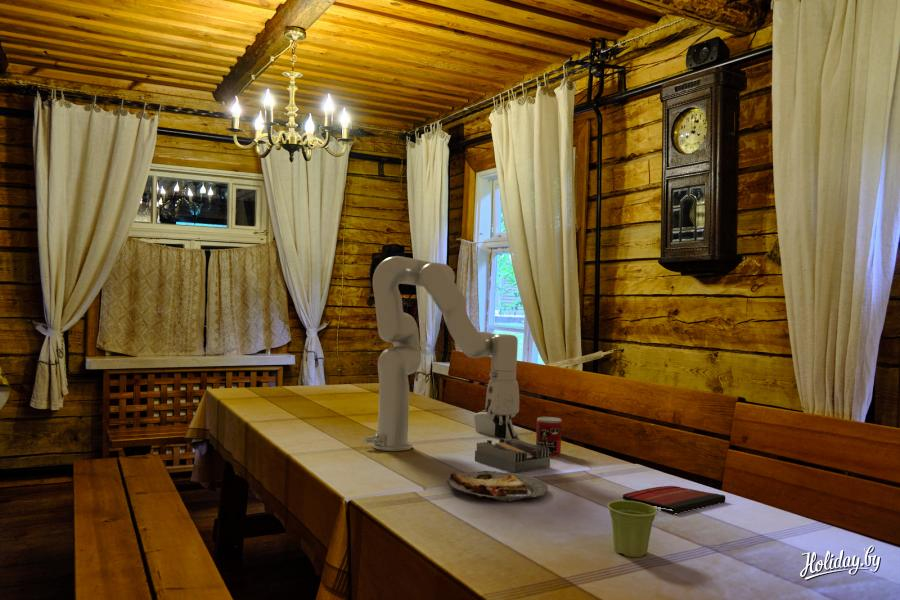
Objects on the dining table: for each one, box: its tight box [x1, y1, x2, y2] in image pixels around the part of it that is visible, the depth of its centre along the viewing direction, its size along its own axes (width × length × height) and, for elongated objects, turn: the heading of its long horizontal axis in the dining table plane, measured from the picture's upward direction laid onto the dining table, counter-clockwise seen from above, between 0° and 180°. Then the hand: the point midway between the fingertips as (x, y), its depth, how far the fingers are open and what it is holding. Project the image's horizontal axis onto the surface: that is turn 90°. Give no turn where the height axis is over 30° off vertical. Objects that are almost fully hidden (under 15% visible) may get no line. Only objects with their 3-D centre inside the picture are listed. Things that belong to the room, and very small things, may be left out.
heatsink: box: [474, 437, 551, 474], centre depth 205 cm, size 14×17×6 cm
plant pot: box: [607, 499, 659, 558], centre depth 136 cm, size 9×9×9 cm
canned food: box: [535, 416, 563, 457], centre depth 221 cm, size 8×8×11 cm
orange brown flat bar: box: [494, 442, 531, 456], centre depth 205 cm, size 3×12×1 cm, turn 39°
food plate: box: [447, 470, 548, 503], centre depth 177 cm, size 25×23×4 cm
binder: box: [622, 485, 726, 515], centre depth 174 cm, size 16×2×21 cm
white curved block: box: [473, 409, 519, 440], centre depth 249 cm, size 17×5×10 cm, turn 42°
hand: (500, 437), depth 209 cm, fingers closed
